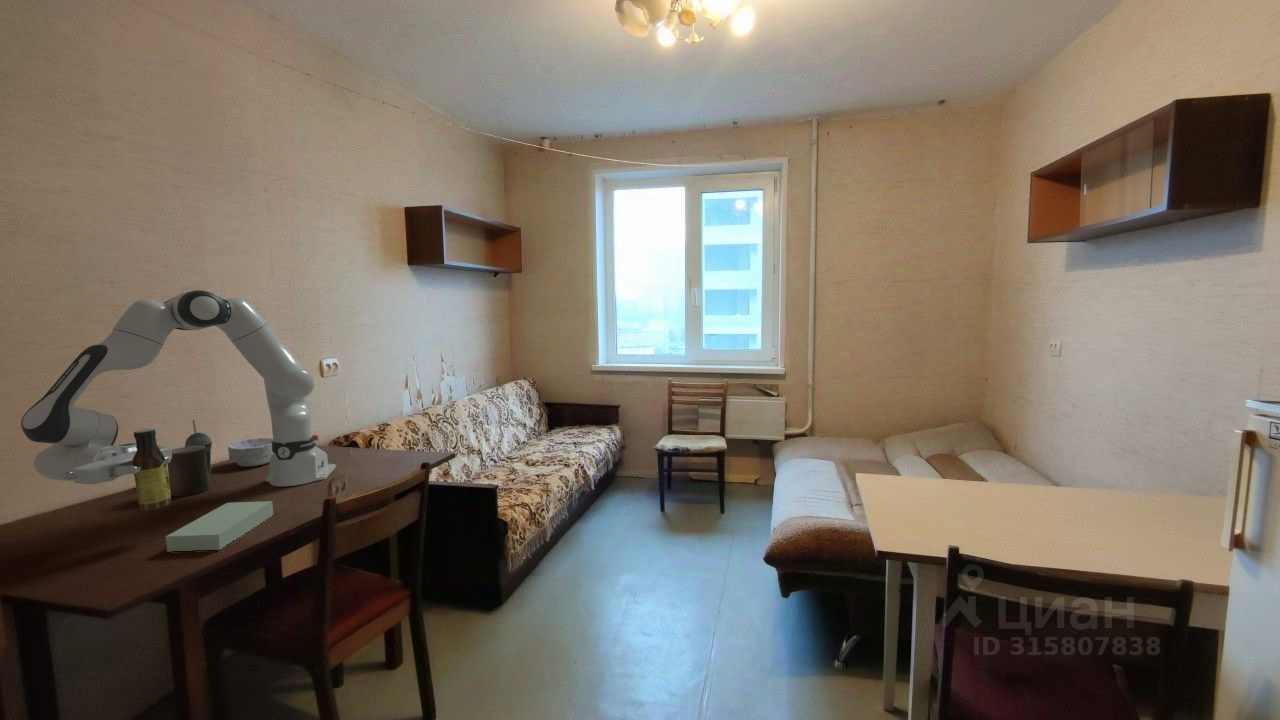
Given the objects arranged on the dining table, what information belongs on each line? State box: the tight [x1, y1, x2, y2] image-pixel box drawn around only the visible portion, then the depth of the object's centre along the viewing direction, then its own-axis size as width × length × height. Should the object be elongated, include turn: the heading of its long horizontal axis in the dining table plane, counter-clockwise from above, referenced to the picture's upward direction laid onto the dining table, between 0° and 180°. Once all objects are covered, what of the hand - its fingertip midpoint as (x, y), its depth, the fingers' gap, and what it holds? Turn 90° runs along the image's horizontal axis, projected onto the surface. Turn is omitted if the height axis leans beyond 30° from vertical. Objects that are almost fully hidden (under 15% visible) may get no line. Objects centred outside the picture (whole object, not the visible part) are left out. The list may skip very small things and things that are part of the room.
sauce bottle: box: [133, 428, 172, 512], centre depth 137 cm, size 6×6×20 cm
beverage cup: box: [184, 419, 213, 478], centre depth 186 cm, size 7×7×20 cm
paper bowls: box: [227, 437, 273, 468], centre depth 203 cm, size 15×15×8 cm
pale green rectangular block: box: [165, 500, 274, 553], centre depth 142 cm, size 22×12×4 cm, turn 5°
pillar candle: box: [166, 444, 210, 497], centre depth 173 cm, size 10×10×15 cm
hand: (153, 464), depth 137 cm, fingers closed on sauce bottle, 6 cm apart
